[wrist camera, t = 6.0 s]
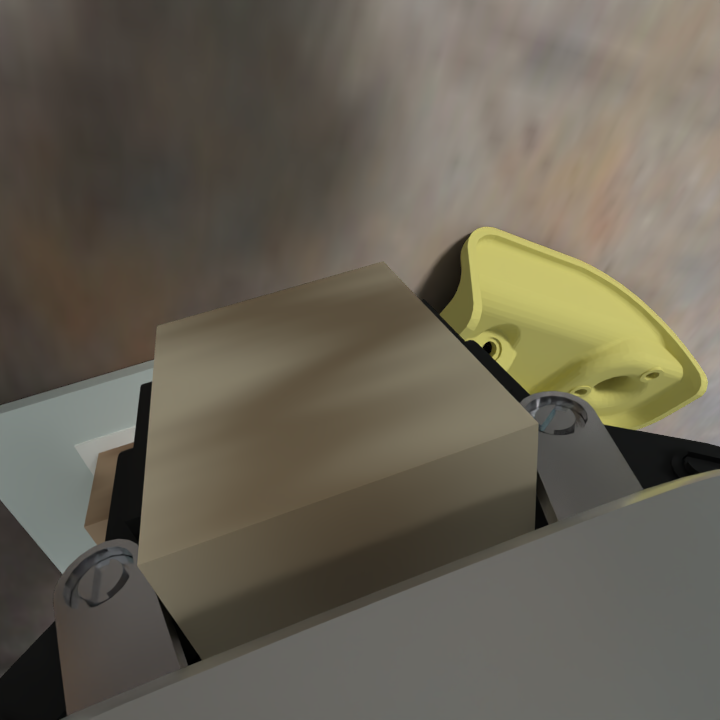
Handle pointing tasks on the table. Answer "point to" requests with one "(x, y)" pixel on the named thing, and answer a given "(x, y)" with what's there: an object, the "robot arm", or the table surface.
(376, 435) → the maple block
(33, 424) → the board
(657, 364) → the plastic component
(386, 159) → the table surface
